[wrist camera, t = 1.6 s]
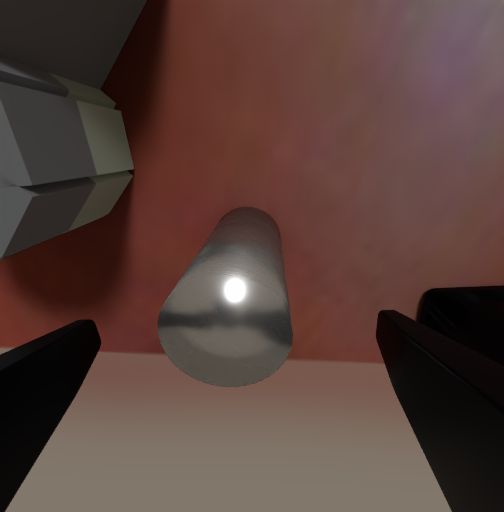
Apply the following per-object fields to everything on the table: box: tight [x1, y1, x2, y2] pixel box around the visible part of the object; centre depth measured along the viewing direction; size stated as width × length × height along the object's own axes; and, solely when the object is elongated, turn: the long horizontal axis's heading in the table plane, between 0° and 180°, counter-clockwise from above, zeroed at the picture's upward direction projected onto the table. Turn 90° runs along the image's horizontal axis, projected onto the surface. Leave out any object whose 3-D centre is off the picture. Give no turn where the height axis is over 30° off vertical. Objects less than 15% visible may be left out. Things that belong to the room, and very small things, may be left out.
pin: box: [158, 207, 293, 387], centre depth 12 cm, size 4×4×9 cm
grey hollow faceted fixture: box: [0, 0, 147, 260], centre depth 11 cm, size 15×8×7 cm, turn 140°
